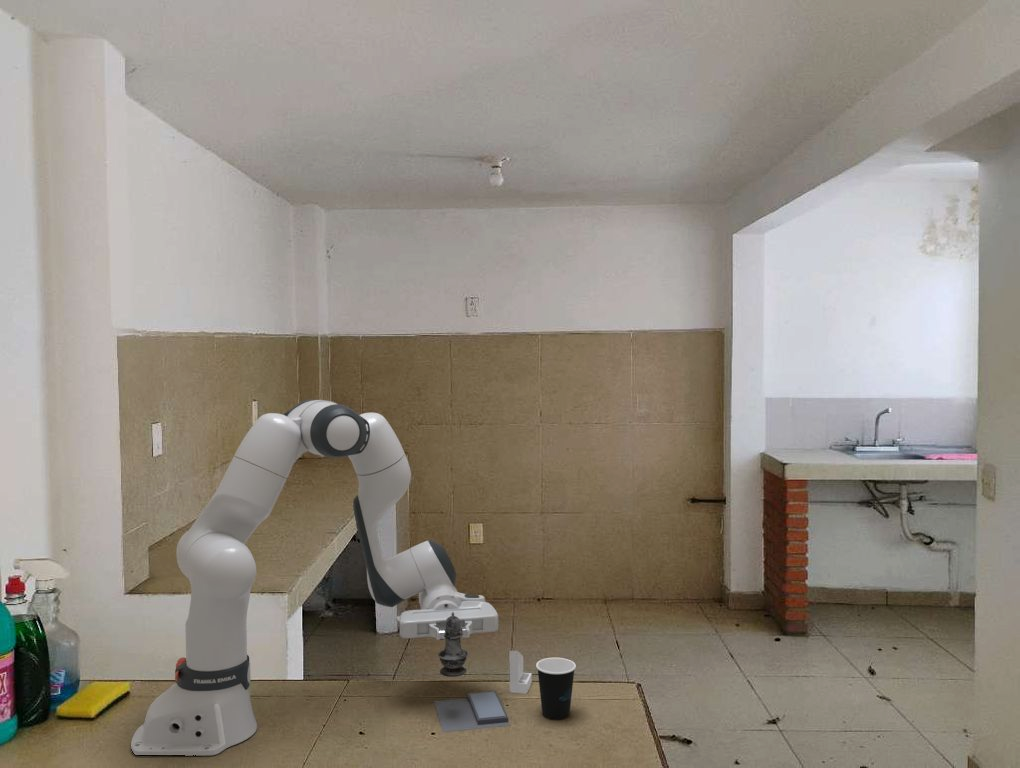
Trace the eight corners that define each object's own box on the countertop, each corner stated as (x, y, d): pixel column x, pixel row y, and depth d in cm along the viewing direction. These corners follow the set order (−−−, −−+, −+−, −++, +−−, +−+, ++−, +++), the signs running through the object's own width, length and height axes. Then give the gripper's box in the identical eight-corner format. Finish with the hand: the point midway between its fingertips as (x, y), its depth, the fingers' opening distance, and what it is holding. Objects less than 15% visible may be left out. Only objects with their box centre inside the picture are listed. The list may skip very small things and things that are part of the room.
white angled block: (505, 694, 175) (509, 650, 179) (513, 700, 184) (517, 658, 188) (522, 695, 175) (526, 651, 179) (530, 701, 183) (533, 659, 187)
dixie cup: (574, 729, 165) (574, 673, 164) (533, 726, 166) (533, 671, 166) (577, 711, 173) (577, 658, 172) (538, 708, 174) (538, 656, 173)
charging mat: (442, 737, 162) (442, 732, 162) (434, 705, 176) (434, 701, 175) (509, 730, 164) (509, 725, 164) (496, 700, 178) (496, 695, 178)
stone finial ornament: (473, 670, 170) (473, 610, 169) (455, 679, 165) (455, 619, 164) (450, 663, 173) (450, 605, 172) (432, 673, 168) (431, 613, 167)
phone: (477, 724, 165) (477, 720, 165) (467, 697, 177) (467, 692, 177) (508, 722, 166) (508, 717, 166) (495, 694, 179) (495, 690, 179)
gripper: (394, 601, 179) (400, 623, 165) (490, 594, 183) (503, 615, 169) (395, 630, 179) (400, 655, 166) (490, 623, 183) (503, 646, 170)
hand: (453, 635), depth 167 cm, fingers closed on stone finial ornament, 4 cm apart
